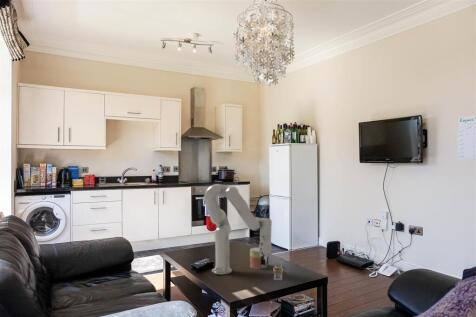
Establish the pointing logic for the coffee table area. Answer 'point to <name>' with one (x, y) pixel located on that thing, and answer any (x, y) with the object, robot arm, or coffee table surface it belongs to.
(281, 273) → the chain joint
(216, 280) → the coffee table surface
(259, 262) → the canned food
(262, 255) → the pin
